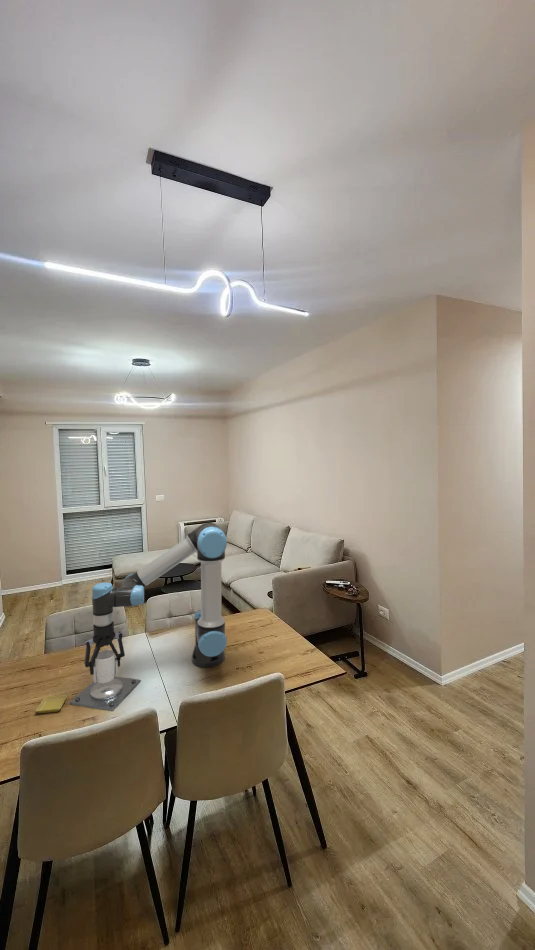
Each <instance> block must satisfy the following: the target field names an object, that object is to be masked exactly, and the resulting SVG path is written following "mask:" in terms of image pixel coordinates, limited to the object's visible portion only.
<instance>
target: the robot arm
mask: <svg viewBox="0 0 535 950" xmlns="http://www.w3.org/2000/svg"><path fill="white" fill-rule="evenodd" d="M227 544H228V540H227V537H226V534H225V532H224V531H223V530H222V529H221V528H220V527H219V526H218V525H217V524H216V523H213V522H204V523H202V524H200V525H199V526H197V527H196V528H194V530H192V531H190V532H189V533H187V535H186V537H185V539H183V540H181V541H180V542H178V543H177V544H175V545H173V547H171V548H169V549H168V550H167V551H165V552H164V553H162V554H161V555H158V557H157V558H155V559H153V560H152V561H151V562H149V563H148V564H146V565H145V566H143V567H141V568H140V569H139V570H137V571H136V572H134V573H131V574H128V575H126V577H125V578H124V579H123V580H122V583H121V586H120V587H113V584H112V583H111V582H99V583H97V584H95V585H94V586H93V587H91V588H92V589H91V590H92V591H91V594H92V595H91V601H92V602H91V603H92V605H91V606H92V620H93V621H92V624H93V625H92V626H93V627H92V629H93V636H92V638H91V639H86V640H84V641H85V642H84V643H85V647H86V648H85V655H84V663H83V665H84V667H86V668H89V674H90V675H91V676H92V680H93V681H94V683H96V666H95V659H96V658H97V655H98V653H99V652H100V651H101V648H103V647H105V646H106V647H108V646H110V647H109V648H111V650H113V652H114V653H115V676H116V677H119V669H118V668H120V666H121V660H122V658H124V657H125V656H126V655H125V650H124V645H123V644H124V643H123V633H122V631H118V632H115V621H114V617H115V616H114V608H122V607H130V606H131V607H134V606H135V607H136V606H139V605H143V604H144V603H145V587H147V586H148V585H149V584H151V583H153V582H154V581H155V580H157V579H158V578H160V577H161V576H163V575H165V574H166V573H167V572H169V571H170V570H171V569H173V568H175V567H177V565H179V564H180V563H182V562H184V561H185V560H186V559H188V558H189V557H190V556H193V554H195V553H197V554H196V555H197V556H196V557H197V559H196V560H197V561H199V562H200V608H201V609H199V610H197V611H196V612H195V613H194V639H195V640H194V641H195V643H194V648H193V651H192V654H191V662H192V664H193V665H194V666H196V667H198V668H205V669H206V668H213V667H217V666H218V665H221V664H223V662H224V661H225V659H226V655H225V654H226V651H225V649H226V647H227V643H228V642H227V641H228V640H227V639H228V638H227V635H226V619H225V618H224V617H223V616H222V562H223V561H224V560H225V559H226V549H227V546H228V545H227ZM115 638H116V639H117V643H118V648H119V652H118V650H117V649H116V647H115V644H114V643H113V641H114V639H115ZM93 643H94V644H95V645H94V650H93V652H92V655H91V648H92V645H93ZM90 657H91V658H90ZM93 681H92V682H93Z"/></svg>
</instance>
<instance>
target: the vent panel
mask: <svg viewBox="0 0 535 950" xmlns="http://www.w3.org/2000/svg"><path fill="white" fill-rule="evenodd" d="M141 681H142V680H141V679H140V678H139V679H138V678H130V677H123V676H117V677H116V675H115V677H114V679H113V680H111V681H110V682H107V683H98V682H97V680H96V683H94V681H92V682H91V683H90V684H89V685H87V686H86V687H85V688H84V689H83V690H82V691H80V693H78V694H77V695H76V696H75V697H74V698H72V699H71V700H70V701H69V705H72V706H78V707H79V706H80V707H85V708H91V709H96V710H97V709H99V710H105V711H109V712H110V711H111V712H113V711H115V710H116V709H117V708H118V707H119V706H120V704H121V703H122V702H123V701H124V700H125V699H126V697H128V696H129V695H130V694H131V693H132V692H133V690H134V689H135V688H136V687H137V686H138V685H139V684H140V683H141Z"/></svg>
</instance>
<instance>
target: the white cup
mask: <svg viewBox="0 0 535 950" xmlns="http://www.w3.org/2000/svg"><path fill="white" fill-rule="evenodd" d="M115 658H116V656H115V653H114V652H113V650H112V649H103V650H99V653H98V655H97V658H96V659H95V666H96V680H97V682H98V683H107V682H110V681H111V680H113V679H114V677H115V676H116V675H115Z"/></svg>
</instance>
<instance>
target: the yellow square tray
mask: <svg viewBox="0 0 535 950" xmlns="http://www.w3.org/2000/svg"><path fill="white" fill-rule="evenodd" d="M67 698H68V694H60V695H51V696H45V697H43V699H42V700H41V702H40V703H39V705H38V707H36V710H35V712H37V713H38V714H47V713H56V712H60V711H61V708H62V707H63V705H64V703H65V702H66V700H67Z"/></svg>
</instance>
